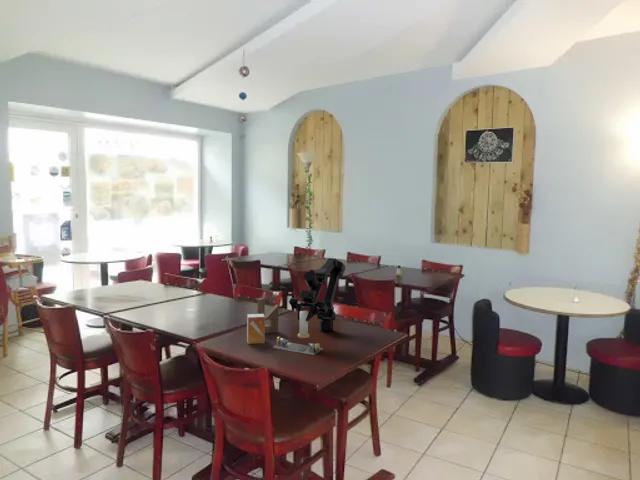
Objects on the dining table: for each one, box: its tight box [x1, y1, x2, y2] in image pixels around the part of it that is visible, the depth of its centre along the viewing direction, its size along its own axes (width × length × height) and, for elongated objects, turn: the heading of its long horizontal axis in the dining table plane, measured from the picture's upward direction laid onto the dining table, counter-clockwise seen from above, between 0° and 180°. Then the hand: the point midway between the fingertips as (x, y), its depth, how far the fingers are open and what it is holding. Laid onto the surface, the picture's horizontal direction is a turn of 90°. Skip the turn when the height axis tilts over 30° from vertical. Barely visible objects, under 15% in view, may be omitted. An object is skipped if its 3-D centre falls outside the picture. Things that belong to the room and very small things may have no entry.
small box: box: [246, 313, 266, 345], centre depth 226 cm, size 8×6×13 cm
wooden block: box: [256, 297, 279, 334], centre depth 241 cm, size 4×11×18 cm, turn 113°
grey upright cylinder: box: [297, 310, 310, 339], centre depth 221 cm, size 6×6×12 cm
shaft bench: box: [272, 336, 323, 356], centre depth 217 cm, size 21×9×4 cm, turn 64°
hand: (302, 320), depth 220 cm, fingers closed on grey upright cylinder, 4 cm apart
